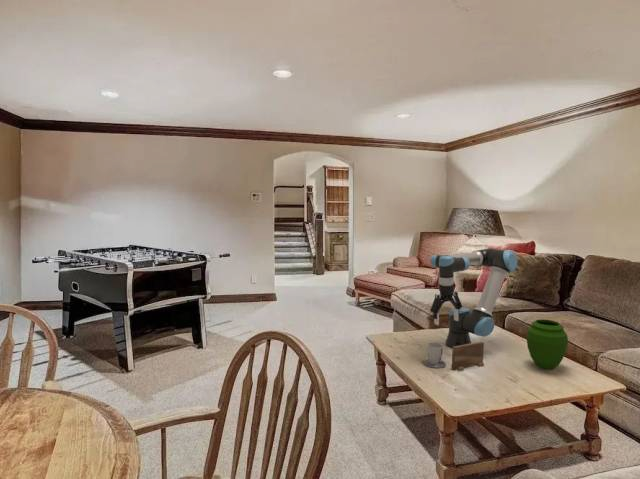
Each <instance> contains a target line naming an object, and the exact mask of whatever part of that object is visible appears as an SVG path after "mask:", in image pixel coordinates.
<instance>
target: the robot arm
mask: <svg viewBox="0 0 640 479" xmlns="http://www.w3.org/2000/svg"><path fill="white" fill-rule="evenodd" d="M430 265H431V267H433V268H436V269H438V272H439V273H438V276H439V277H438V283H439V285H438V288H439V289H438V290H439V294H435V295H434V299H433V302H432V304H431V305H432V306H431V307H430V312H431V313H433V319H434V324H435V325H436V326H440V313H439V311H440V310H441V308H442V306H443V305H444V304H445V303H447V302H450V303H451V305H452V306H453V307H454V308H451V309H450V310H449V315H448V334H447V336H446V340H445V345H446V346H447V347H449V348H451V349H452V347H455V346H460V345H465V344H470V343H472V341H471V337H470V334H473V335H475V336H479V337H488V336H490V335H491V334H492V332H493V331H494V328H495V320H494V319H493V318H494V316H493V314H492V313H493V311H494V308H495V305H496V302H497V299H498V297H499V294H500V291H501V289H502V286H503V283H504V281H505V279H506V277H507V276H509V275H510V273H511V272H513V271H516V269H517V266H518V257H517V255H516V253H515V252H514V251H510V250H508V249H497V248H496V249H495V248H485V249H478V250H477V249H476V250H473V251H471V252H464V253H452V254H444V255H443V254H442V255H441V254H434V255H432V256H431V257H430ZM470 266H475V267H476V266H477V267H478V266H480V267H487V268H488V269H489V274H488V277H487V280H486V282H485V284H484V287H483V289H482V293H481V295H480V298H479V301H478V302H477V304H476V305H477V306H476V307H474V308H473V309H472V310H470V308H468V307H463V305H462V302H461V300H460V297H459V293H458V292H457V291H455V290H454V288H455V287H454V282H455V280H454V276H455V275H454V274H455V273H458V272H464V271H468V270H469V268H470Z"/></svg>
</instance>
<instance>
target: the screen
mask: <svg viewBox="0 0 640 479" xmlns="http://www.w3.org/2000/svg"><path fill="white" fill-rule="evenodd" d="M484 344H485V343H484V342H483V341H476V342H471V343H470V344H465V345H460V346H455V347H452V348H451V349H452V351H451V352H452V356H451V367H450V368H451V370H453V371H458V372H463V371H465V369H467V368H472V367H475V366H478V367H479V368H480V367H484V366H485V363H484V348H485V347H484V346H485V345H484Z"/></svg>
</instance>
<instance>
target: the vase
mask: <svg viewBox="0 0 640 479" xmlns="http://www.w3.org/2000/svg"><path fill="white" fill-rule="evenodd" d="M525 336H526V337H525V338H526V344H527V349H528V353H529V356H530V358H531V360H532V361H533V362H534V364H535V366H536V367H538V368H540V369H542V370H548V371H550V370H551V371H552V370H555V369H556V368H557V367H558V366H559V365H560V364H561V363H562V361H563V359H564V357H565V356H566V353H567V350H568V349H567V348H568V345H569V338H568V333H567V332H566V331H565V330H564V326H563V325H562V324H560V323H559V322H558V321H556V320H550V319H537V320H534V321H533V322H531V326H529V327H528V329H527V331H526V335H525Z"/></svg>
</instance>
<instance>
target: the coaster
mask: <svg viewBox="0 0 640 479" xmlns="http://www.w3.org/2000/svg"><path fill="white" fill-rule="evenodd" d="M422 364H423V366H425V367H427V368H430V369H438V370H439V369H443V368H446V366H447V363H446V362H445V361H443V360H441V361H440V364H438V365H434V364H431V363H430V360H429V358H427V359H424V360H423V361H422Z"/></svg>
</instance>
